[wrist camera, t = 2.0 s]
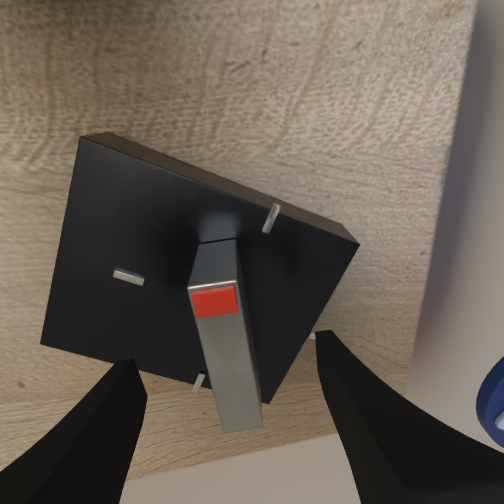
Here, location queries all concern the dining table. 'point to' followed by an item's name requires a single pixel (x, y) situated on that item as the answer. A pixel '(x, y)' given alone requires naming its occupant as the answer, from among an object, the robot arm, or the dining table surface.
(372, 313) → the dining table surface
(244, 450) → the dining table surface
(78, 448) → the robot arm
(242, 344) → the red-topped metal block
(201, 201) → the switch base
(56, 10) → the dining table surface
